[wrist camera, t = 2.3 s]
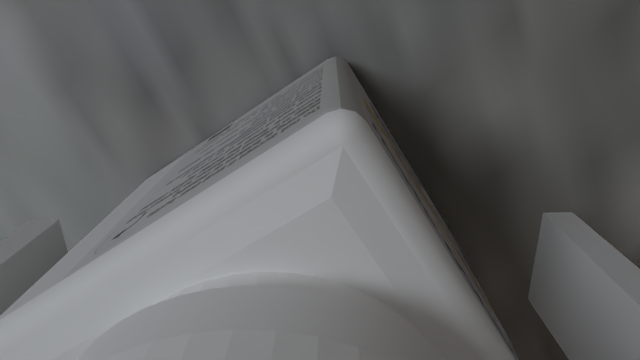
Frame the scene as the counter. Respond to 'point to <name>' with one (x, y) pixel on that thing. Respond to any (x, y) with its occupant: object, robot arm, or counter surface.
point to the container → (268, 252)
